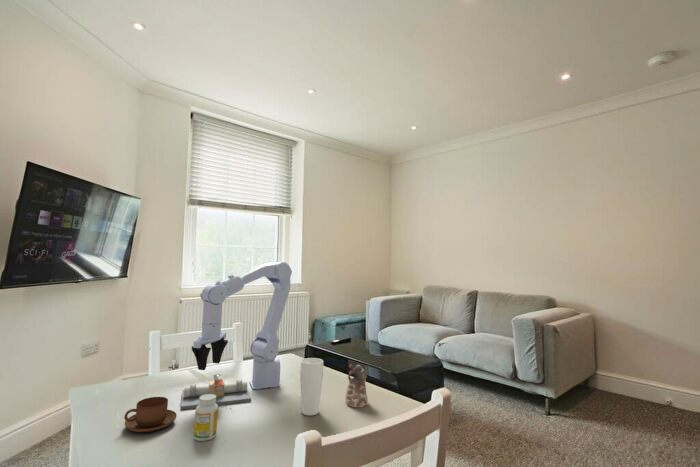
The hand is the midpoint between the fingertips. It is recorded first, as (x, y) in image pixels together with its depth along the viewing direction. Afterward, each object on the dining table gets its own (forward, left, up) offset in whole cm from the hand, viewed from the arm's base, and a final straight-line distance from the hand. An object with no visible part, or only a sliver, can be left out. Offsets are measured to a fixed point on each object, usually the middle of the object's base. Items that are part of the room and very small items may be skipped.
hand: (209, 366), depth 114 cm
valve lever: (-3, +4, -5) cm, 7 cm away
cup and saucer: (+14, +14, -11) cm, 23 cm away
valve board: (-3, -1, -10) cm, 11 cm away
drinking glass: (-28, +20, -10) cm, 36 cm away
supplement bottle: (+1, +25, -10) cm, 27 cm away
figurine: (-44, +18, -10) cm, 48 cm away
